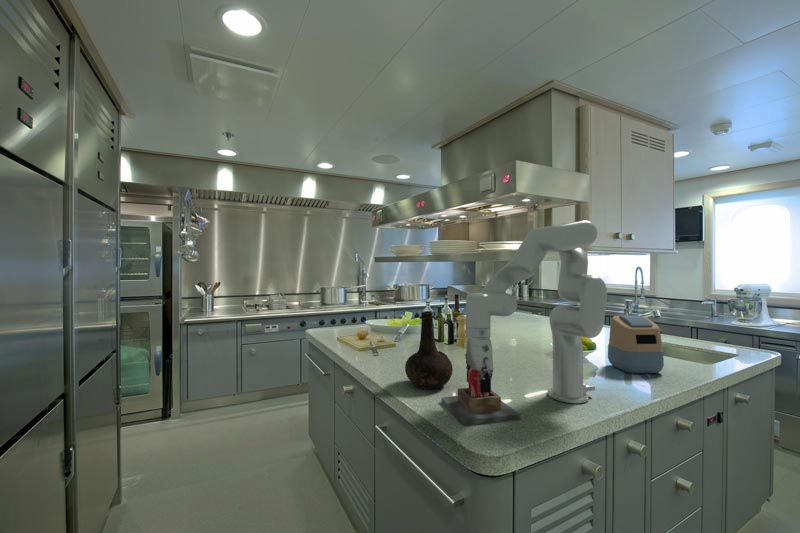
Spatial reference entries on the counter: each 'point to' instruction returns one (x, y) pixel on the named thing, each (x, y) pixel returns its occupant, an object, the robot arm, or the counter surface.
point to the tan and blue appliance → (635, 345)
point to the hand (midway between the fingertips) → (478, 386)
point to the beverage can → (475, 383)
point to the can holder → (479, 408)
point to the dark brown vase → (428, 359)
